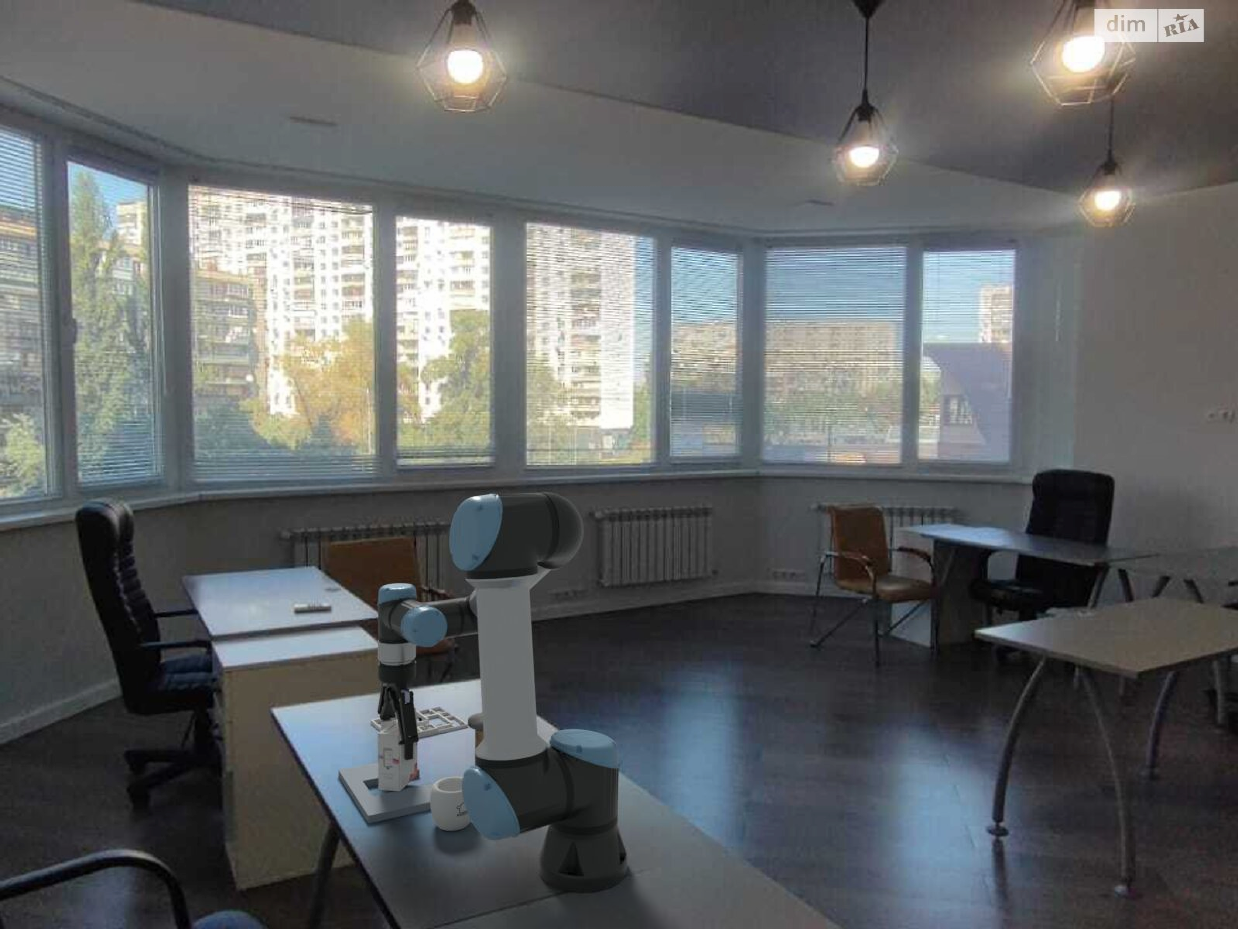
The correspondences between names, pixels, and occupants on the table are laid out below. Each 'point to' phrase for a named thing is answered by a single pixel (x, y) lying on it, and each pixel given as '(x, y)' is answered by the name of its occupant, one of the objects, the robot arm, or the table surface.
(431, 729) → the floor plan model
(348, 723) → the table surface
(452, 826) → the mug
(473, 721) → the bobbin post
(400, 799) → the notched board
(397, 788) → the ink cartridge box
